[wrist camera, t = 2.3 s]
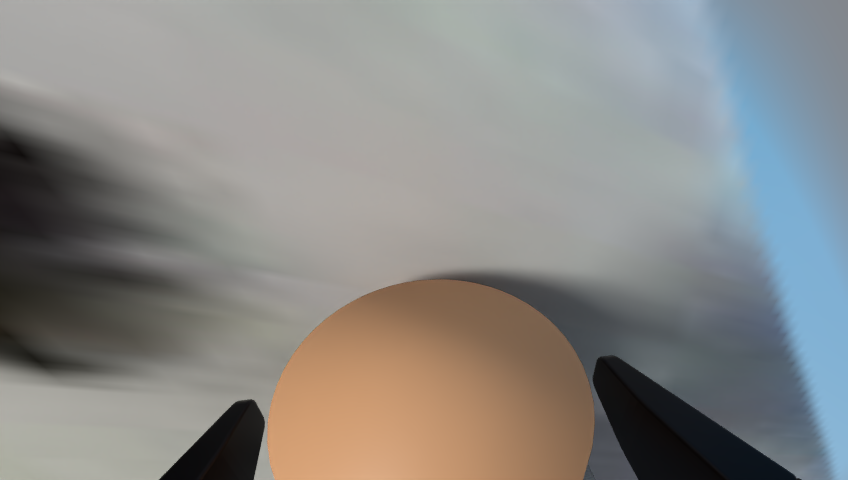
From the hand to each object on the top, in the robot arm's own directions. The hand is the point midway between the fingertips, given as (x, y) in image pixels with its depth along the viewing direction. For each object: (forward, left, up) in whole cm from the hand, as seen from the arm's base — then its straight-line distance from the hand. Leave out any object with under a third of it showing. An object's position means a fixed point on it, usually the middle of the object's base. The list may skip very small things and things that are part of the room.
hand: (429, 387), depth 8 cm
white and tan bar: (-5, 0, -3) cm, 6 cm away
